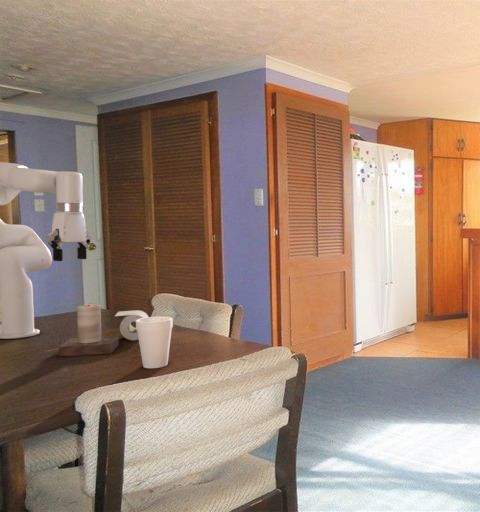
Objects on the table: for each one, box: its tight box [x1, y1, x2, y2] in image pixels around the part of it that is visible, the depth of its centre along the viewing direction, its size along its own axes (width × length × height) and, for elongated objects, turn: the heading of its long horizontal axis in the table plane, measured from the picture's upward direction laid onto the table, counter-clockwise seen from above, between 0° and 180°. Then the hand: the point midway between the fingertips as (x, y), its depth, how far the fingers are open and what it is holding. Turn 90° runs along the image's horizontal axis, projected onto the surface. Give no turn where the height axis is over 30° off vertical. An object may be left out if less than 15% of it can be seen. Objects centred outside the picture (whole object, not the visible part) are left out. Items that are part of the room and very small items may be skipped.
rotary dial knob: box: [76, 303, 102, 343], centre depth 164 cm, size 6×6×11 cm
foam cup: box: [135, 316, 174, 369], centre depth 148 cm, size 10×9×13 cm
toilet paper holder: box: [114, 309, 150, 341], centre depth 184 cm, size 12×9×15 cm
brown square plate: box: [58, 335, 120, 357], centre depth 165 cm, size 14×12×3 cm
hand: (70, 259), depth 177 cm, fingers open, 9 cm apart
